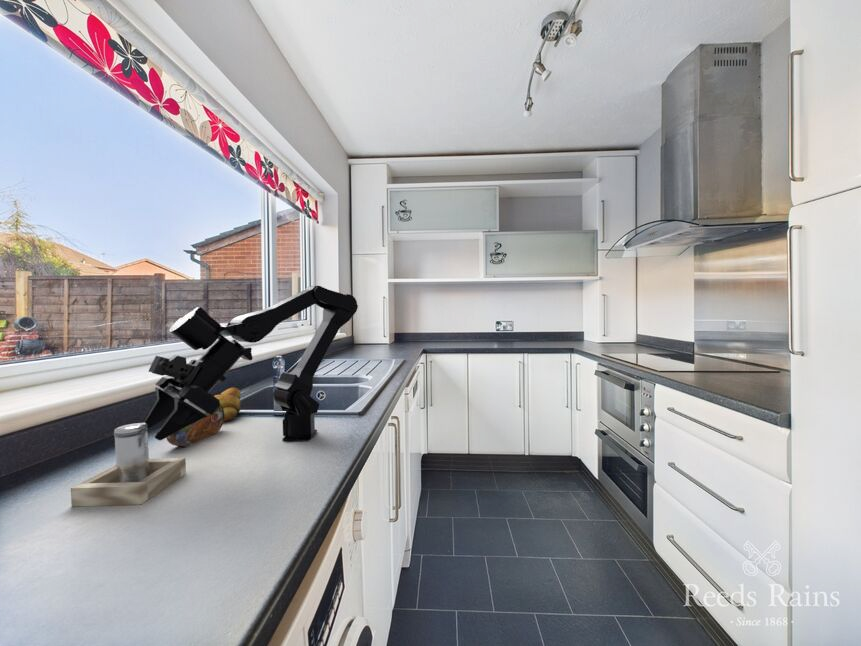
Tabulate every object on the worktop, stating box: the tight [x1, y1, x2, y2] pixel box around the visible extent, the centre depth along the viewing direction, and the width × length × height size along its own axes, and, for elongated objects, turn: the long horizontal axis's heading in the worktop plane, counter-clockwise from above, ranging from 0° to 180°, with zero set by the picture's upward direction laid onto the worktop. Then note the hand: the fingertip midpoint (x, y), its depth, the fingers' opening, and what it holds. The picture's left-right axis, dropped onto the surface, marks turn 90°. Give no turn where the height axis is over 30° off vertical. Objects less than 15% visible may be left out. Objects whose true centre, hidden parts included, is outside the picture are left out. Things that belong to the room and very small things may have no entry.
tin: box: [165, 404, 225, 447], centre depth 87 cm, size 15×3×8 cm, turn 168°
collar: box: [70, 457, 187, 507], centre depth 63 cm, size 11×11×3 cm
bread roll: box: [213, 386, 242, 422], centre depth 104 cm, size 13×10×8 cm
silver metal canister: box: [113, 422, 150, 483], centre depth 63 cm, size 5×5×11 cm
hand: (150, 433), depth 65 cm, fingers open, 9 cm apart
